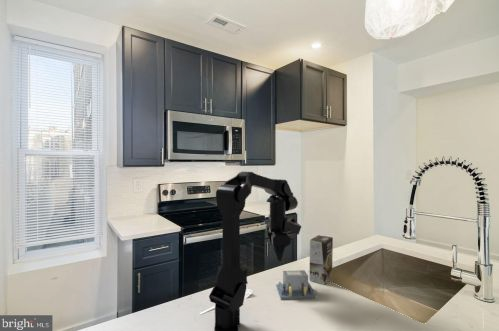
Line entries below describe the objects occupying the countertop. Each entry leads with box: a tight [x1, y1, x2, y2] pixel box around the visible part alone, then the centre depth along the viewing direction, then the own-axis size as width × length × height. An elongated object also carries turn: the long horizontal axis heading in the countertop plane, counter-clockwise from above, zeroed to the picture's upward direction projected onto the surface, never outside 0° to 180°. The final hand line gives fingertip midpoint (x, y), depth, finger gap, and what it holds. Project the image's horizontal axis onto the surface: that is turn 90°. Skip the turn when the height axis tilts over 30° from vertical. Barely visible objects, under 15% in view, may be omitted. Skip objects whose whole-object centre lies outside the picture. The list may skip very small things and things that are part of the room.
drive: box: [282, 269, 309, 294], centre depth 91 cm, size 8×4×6 cm, turn 94°
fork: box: [199, 288, 254, 316], centre depth 84 cm, size 3×20×2 cm, turn 128°
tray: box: [275, 281, 317, 300], centre depth 91 cm, size 12×9×4 cm
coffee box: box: [308, 234, 334, 285], centre depth 101 cm, size 9×6×16 cm
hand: (277, 256), depth 93 cm, fingers open, 9 cm apart
